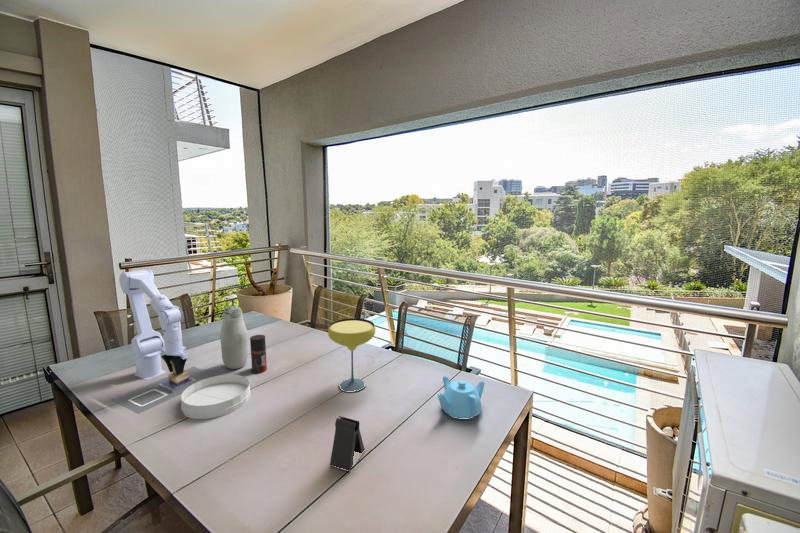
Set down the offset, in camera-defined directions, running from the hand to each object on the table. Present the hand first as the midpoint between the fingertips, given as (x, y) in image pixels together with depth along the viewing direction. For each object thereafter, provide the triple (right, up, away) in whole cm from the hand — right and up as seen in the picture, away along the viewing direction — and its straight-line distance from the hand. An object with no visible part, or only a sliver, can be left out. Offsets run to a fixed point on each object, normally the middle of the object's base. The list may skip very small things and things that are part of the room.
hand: (176, 372), depth 133 cm
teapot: (+108, -9, -13) cm, 109 cm away
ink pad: (0, -5, +1) cm, 5 cm away
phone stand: (+72, -13, -37) cm, 82 cm away
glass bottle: (+15, -3, +17) cm, 23 cm away
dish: (+21, -8, -9) cm, 24 cm away
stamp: (0, -3, +1) cm, 4 cm away
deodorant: (+26, -4, +15) cm, 30 cm away
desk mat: (-2, -6, -1) cm, 6 cm away
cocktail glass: (+68, -6, +3) cm, 68 cm away
